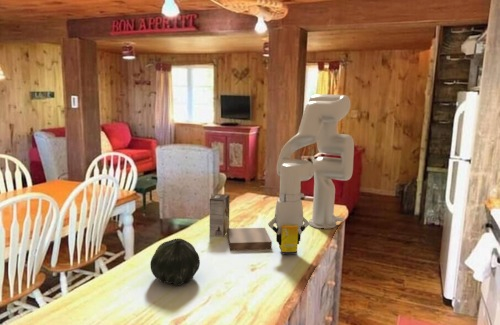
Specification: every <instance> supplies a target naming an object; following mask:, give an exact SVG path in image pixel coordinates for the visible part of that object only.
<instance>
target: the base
mask: <svg viewBox="0 0 500 325" xmlns="http://www.w3.org/2000/svg"><path fill="white" fill-rule="evenodd" d="M226 237H227V242H228V248H229V251H256V250H272V244H273V243H272V239H271V237H270V235H269V233H268V231H267V230H266V228H265V227H246V228H245V227H242V228H241V227H237V228H236V227H235V228H234V227H233V228H231V227H229V228H228V229H227V233H226Z"/></svg>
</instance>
